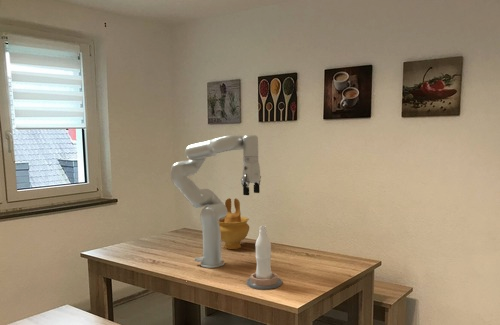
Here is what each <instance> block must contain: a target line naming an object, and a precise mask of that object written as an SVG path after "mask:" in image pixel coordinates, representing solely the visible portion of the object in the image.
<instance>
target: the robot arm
mask: <svg viewBox="0 0 500 325" xmlns="http://www.w3.org/2000/svg"><path fill="white" fill-rule="evenodd" d="M240 150H243V151H242V154H243V158H242V159H243V162H242V163H243V164H242V167H243V168H242V177H241V178H240V182H241V185H242V195H243V196H250V187H249V186H250V184H253V193H254V194H260V185H261V178H262V175H261V167H260V163H259V137H258V135H255V134H249V135H240V134H238V135H237V134H231V135H230V134H228V135H224V136H220V137H219V136H218V137H217V138H216V137H215V138H212V139H208V140H205V141H200V142H196V143H192V144H189V145H188V146H186V148H185V151H184V152H185V153H184V154H185V156H186V158H188V160H181V161H177V162H175V163H173V164H172V165H171V168H170V173H169V176H170V180H171V182H172V183H173V185H174V186H175V187H176V188H177V189H178V190H179V191H180V193H181V194H182V195H183V196H184V197H185V198H186V199H187V201H188V202H189V203H190V204H191V206H192V207H194V208H196V209H199V208H202V210H201V211H200V222H201V230H202V256H200V257H194V262H197V263H200V266H201V267H202V268H206V269H207V268H208V269H215V268H221V267H222V266H224V265H225V260H223V259H222V240H221V230H220V226H219V222H218V221H220V220H222V219H224V218H225V217H226V215H227V208H226V206H225V202H223V201H222V200H221V198H219V197H218V195H217V194H216V193H215V192H214V191H213V190H211V189H209V188H202V189H201V188H200V187H199V186H197V184H196V183H195V182H194V181H193V180H192V179H190V178H189V177H190V176H194V175H195V174H197V173H198V171H199V170H200V169H201V167H202V166H203V164H204V163H205V161H206V159H207V158H210V157H215V156H216V155H217V154H221V153H225V152H231V151H240Z"/></svg>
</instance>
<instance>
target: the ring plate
mask: <svg viewBox="0 0 500 325" xmlns="http://www.w3.org/2000/svg"><path fill="white" fill-rule="evenodd" d="M282 284H283V280H282V278H280V277H279V276H278V274H277V273H276V272H272V277H271V279H257V277H256V271H255V272H253V273H252V274H250V277H249V278H248V279H246V285H247V287H249V288H251V289H255V290H260V291H261V290H262V291H263V290H264V291H265V290H274V289H277V288H279V287H281V286H282Z"/></svg>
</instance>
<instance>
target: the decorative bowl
mask: <svg viewBox="0 0 500 325" xmlns="http://www.w3.org/2000/svg"><path fill="white" fill-rule="evenodd" d="M224 205H225V206H226V208H227V215H226V217H225V218H224V219H222V220H220V221H218V222H219V226H220V230H221V241H223V242H224V243H225V245H224V246H223V247H225V248H224V249H227V248H228V249H230V250H236V249H240V248H242V245H241V241H243V240H244V239H246V238H247V236H248V234H249V231H250V225H249V224H248V223H247V222H248V221H249V220H250V219H249V218H248V217H245V216H241V215H242V213H241V203H240V200H239V199H238V198H234V199H233V205H234V209H235V211H234V212H232V199H231V198H229V197H228V198H227V199H226V200H225V202H224ZM228 249H227V250H228Z"/></svg>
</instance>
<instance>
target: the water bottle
mask: <svg viewBox="0 0 500 325" xmlns="http://www.w3.org/2000/svg"><path fill="white" fill-rule="evenodd" d="M258 233H259V235H258V237H257V239H256V240H255V244H254V245H255V262H256V270H255V272H256V277H257V279H271V277H272V269H271V266H272V265H271V262H272V261H271V260H272V241H271V240H270V238H269V236H268V231H267V226H266V225H260V226H259V231H258Z"/></svg>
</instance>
